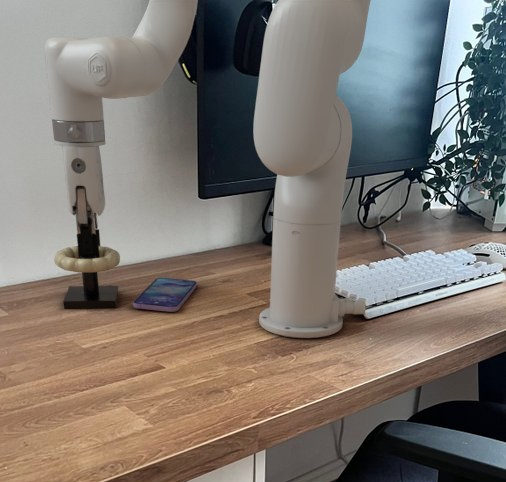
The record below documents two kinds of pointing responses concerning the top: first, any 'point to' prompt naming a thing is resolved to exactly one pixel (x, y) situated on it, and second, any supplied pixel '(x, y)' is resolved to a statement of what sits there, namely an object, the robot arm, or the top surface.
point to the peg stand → (90, 292)
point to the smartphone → (165, 294)
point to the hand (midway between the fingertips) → (90, 255)
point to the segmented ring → (87, 260)
